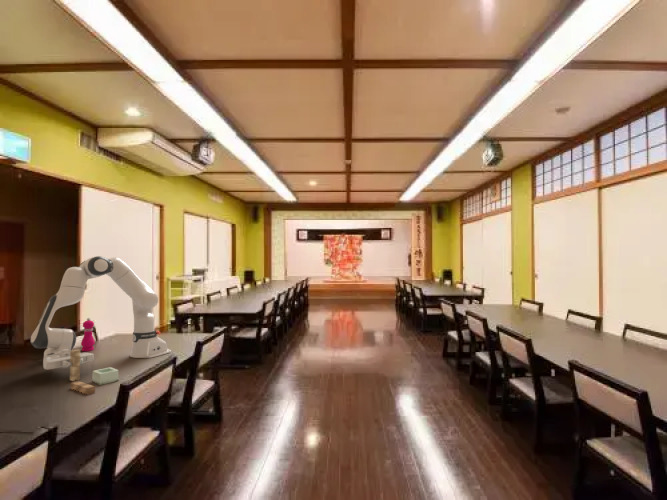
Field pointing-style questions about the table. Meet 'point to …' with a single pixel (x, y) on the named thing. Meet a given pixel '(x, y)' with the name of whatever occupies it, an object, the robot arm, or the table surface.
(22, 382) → the table surface
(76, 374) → the tan wooden block
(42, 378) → the table surface
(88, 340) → the pepper mill
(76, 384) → the tan wooden bar
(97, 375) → the pale green hollow block
